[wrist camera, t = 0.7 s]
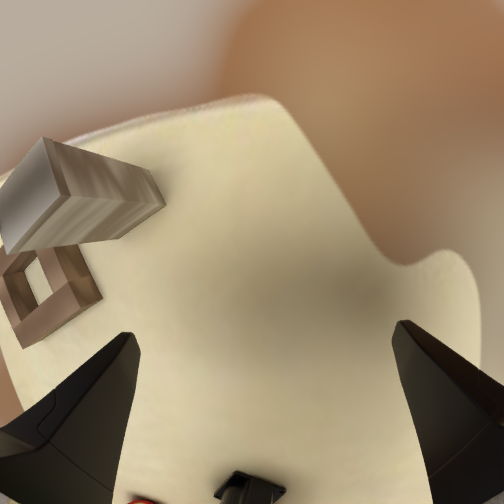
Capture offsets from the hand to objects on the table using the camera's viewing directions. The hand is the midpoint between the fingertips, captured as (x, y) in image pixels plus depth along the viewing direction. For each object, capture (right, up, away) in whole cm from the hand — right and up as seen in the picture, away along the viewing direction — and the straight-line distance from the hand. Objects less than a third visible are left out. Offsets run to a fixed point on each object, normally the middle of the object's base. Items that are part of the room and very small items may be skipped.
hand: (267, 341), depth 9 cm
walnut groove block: (-22, 0, +17) cm, 28 cm away
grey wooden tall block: (-11, +7, +14) cm, 19 cm away
